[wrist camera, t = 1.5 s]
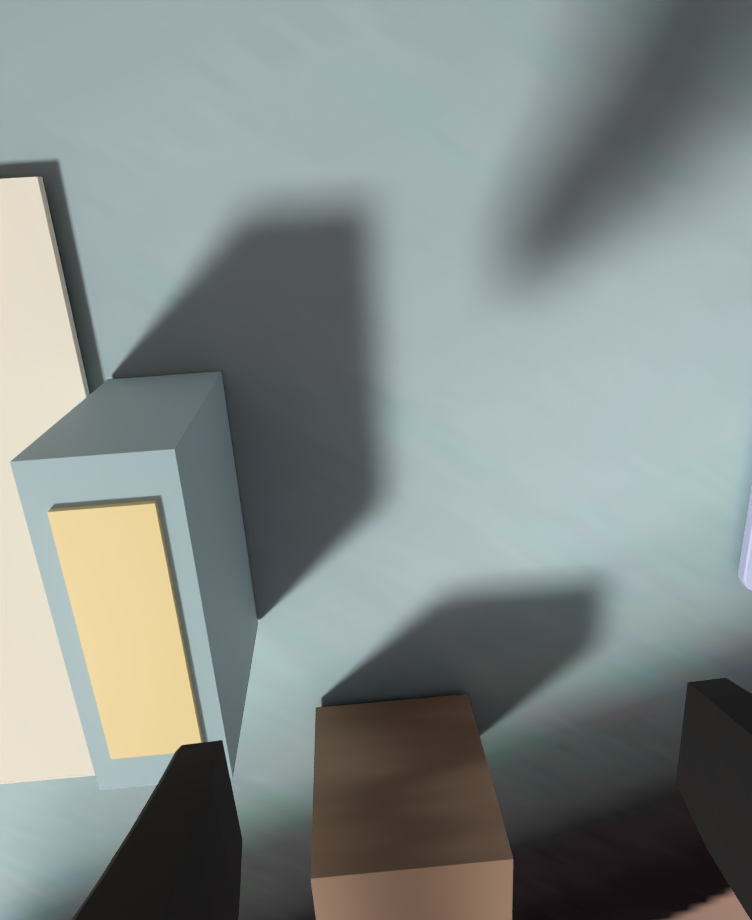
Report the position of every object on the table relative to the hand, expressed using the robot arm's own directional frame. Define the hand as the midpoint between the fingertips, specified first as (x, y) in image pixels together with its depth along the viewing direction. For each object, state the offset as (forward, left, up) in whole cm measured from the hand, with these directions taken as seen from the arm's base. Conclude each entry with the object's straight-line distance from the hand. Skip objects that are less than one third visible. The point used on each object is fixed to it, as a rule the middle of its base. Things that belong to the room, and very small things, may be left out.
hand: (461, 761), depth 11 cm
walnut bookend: (+1, +8, -10) cm, 13 cm away
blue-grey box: (+6, 0, -10) cm, 12 cm away
